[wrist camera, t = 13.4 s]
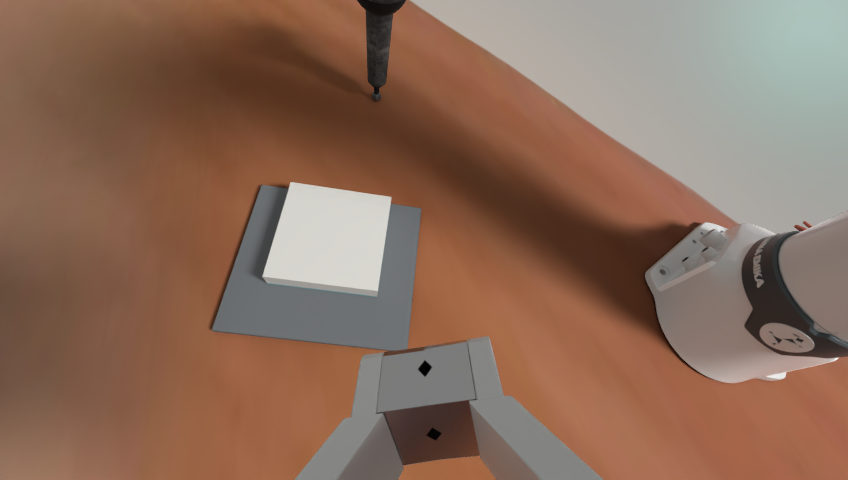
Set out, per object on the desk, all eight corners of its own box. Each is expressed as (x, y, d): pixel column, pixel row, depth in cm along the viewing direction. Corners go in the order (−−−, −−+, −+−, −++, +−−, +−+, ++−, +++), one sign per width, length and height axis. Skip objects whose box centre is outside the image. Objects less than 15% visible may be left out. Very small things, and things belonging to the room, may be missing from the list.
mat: (406, 352, 40) (406, 351, 39) (213, 331, 38) (211, 330, 37) (420, 210, 48) (421, 208, 47) (262, 187, 46) (261, 184, 45)
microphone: (353, 81, 56) (349, -76, 39) (398, 84, 57) (413, -67, 40) (352, 114, 53) (346, -39, 36) (399, 118, 54) (416, -30, 37)
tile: (377, 291, 39) (391, 197, 45) (262, 276, 38) (290, 182, 44) (377, 297, 41) (390, 206, 47) (267, 283, 40) (294, 192, 46)
